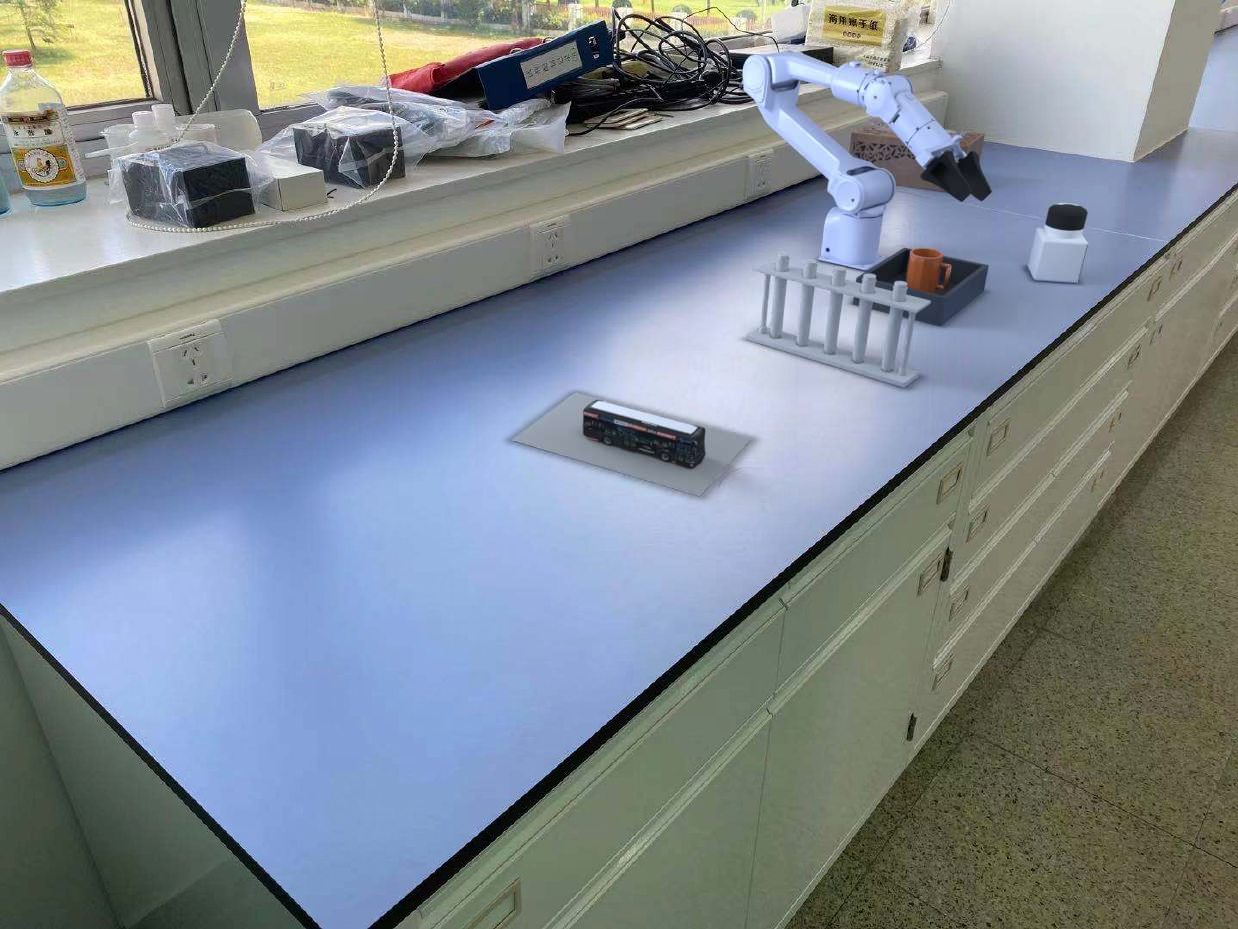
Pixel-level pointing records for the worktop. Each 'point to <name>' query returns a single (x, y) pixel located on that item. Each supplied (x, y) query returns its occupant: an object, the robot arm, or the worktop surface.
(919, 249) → the cup
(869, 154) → the tissue box cover
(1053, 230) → the medicine bottle
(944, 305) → the bin
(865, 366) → the test tube rack
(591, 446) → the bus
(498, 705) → the worktop surface
